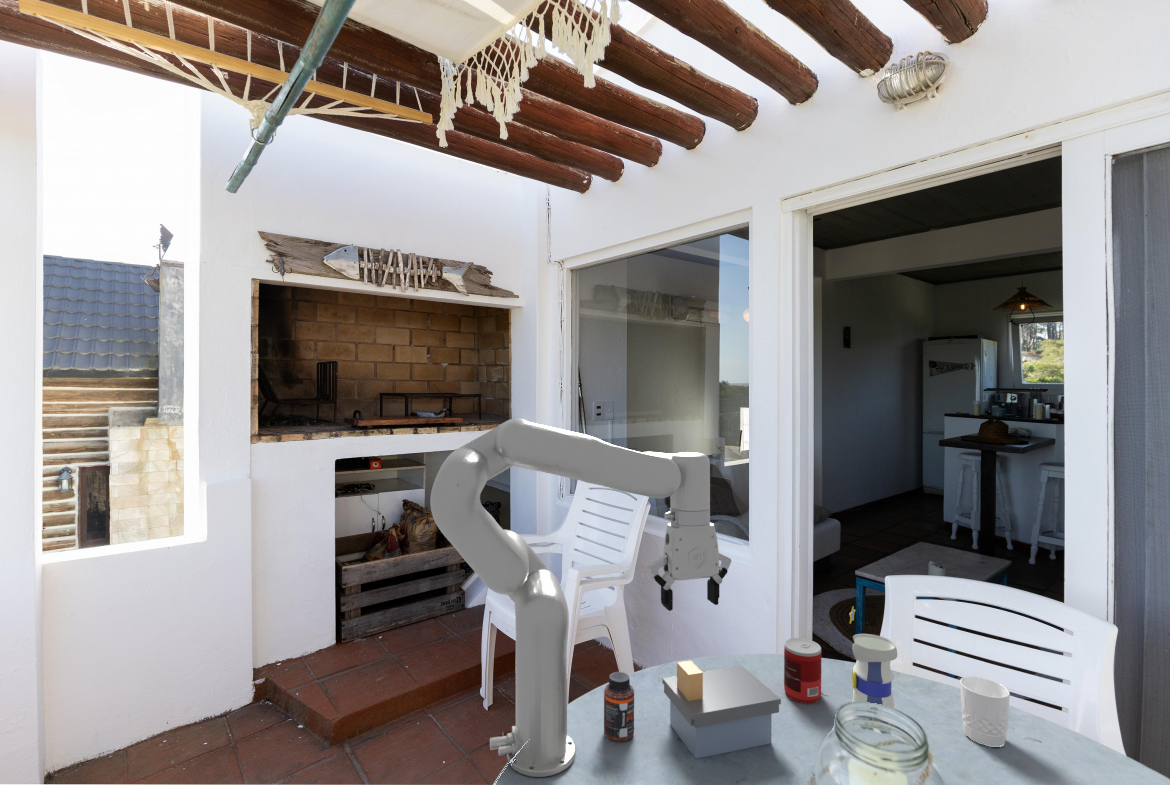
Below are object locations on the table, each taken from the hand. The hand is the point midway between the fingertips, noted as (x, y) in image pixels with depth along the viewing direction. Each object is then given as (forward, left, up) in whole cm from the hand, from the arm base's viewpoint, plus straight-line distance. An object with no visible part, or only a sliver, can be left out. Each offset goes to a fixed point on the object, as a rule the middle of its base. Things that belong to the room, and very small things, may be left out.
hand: (690, 605), depth 109 cm
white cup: (+55, -15, -26) cm, 63 cm away
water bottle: (+33, -10, -26) cm, 44 cm away
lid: (+6, 0, -20) cm, 21 cm away
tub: (+6, 0, -26) cm, 27 cm away
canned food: (+31, +8, -26) cm, 42 cm away
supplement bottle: (-13, +6, -26) cm, 30 cm away
